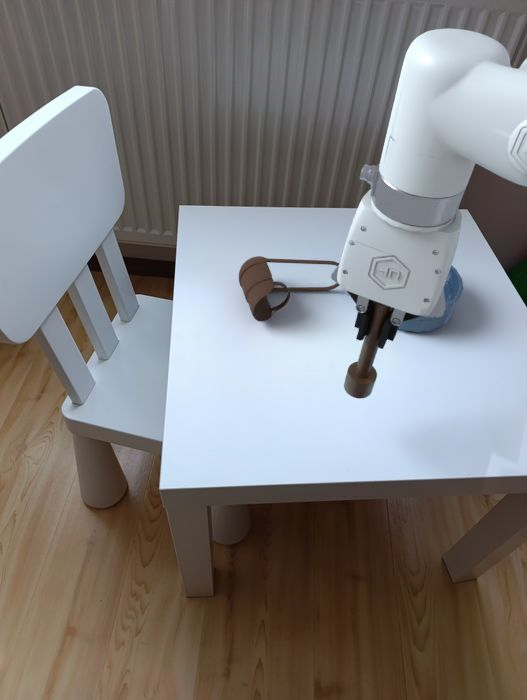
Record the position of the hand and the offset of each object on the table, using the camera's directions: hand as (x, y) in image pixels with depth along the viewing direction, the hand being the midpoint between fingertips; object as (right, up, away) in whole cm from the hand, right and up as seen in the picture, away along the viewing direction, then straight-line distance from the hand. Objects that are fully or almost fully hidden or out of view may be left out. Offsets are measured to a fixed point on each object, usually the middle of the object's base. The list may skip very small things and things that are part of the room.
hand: (373, 335), depth 61 cm
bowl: (+13, +7, +33) cm, 36 cm away
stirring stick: (-1, -6, +7) cm, 10 cm away
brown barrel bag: (-8, +7, +32) cm, 33 cm away
